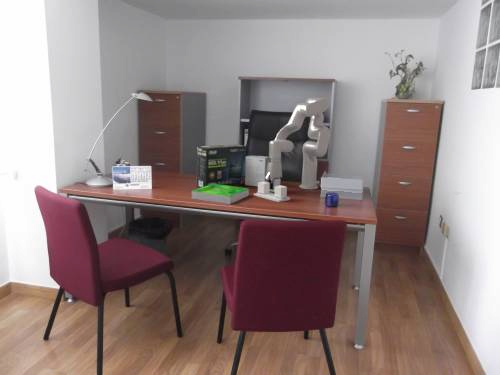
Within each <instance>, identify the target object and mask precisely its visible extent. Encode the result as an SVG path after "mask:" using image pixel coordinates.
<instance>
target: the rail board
mask: <svg viewBox="0 0 500 375" xmlns="http://www.w3.org/2000/svg"><path fill="white" fill-rule="evenodd" d="M269 186H270V183H268V182H258V186H257V192H256V193H253V197H258V198H263V199H265V200H269V201H273V202H278V203H281V202H285V201H291V197H289V196H287V194H288V193H287V192H288V190H287V189H288V187H287V186H285V185H281V184H280V186H275V192H270V191H269Z"/></svg>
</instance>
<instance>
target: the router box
mask: <svg viewBox="0 0 500 375" xmlns="http://www.w3.org/2000/svg"><path fill="white" fill-rule="evenodd" d="M196 149H197V151H196V182H195V183H196V187H197V188H202V187H205V186H208V185H211V184H218V185H226V186H236V185H242V184H244V185H245V156H247V146H246V145H243V144H242V145H241V144H227V145H226V144H225V145H222V144H221V145H205V146H197V147H196Z"/></svg>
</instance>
